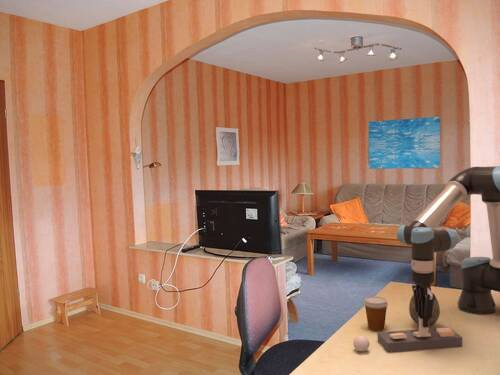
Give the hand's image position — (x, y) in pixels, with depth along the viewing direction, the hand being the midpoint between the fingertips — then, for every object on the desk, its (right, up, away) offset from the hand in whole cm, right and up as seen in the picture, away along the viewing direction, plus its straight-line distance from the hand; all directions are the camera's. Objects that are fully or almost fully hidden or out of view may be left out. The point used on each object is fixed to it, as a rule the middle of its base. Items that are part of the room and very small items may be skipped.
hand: (423, 334), depth 160 cm
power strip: (0, -5, +4) cm, 7 cm away
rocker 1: (-9, -1, +1) cm, 9 cm away
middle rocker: (0, 0, +2) cm, 2 cm away
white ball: (-22, -6, +2) cm, 23 cm away
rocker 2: (+9, 0, +3) cm, 9 cm away
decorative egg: (+9, -4, +21) cm, 23 cm away
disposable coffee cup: (-11, -5, +21) cm, 24 cm away
